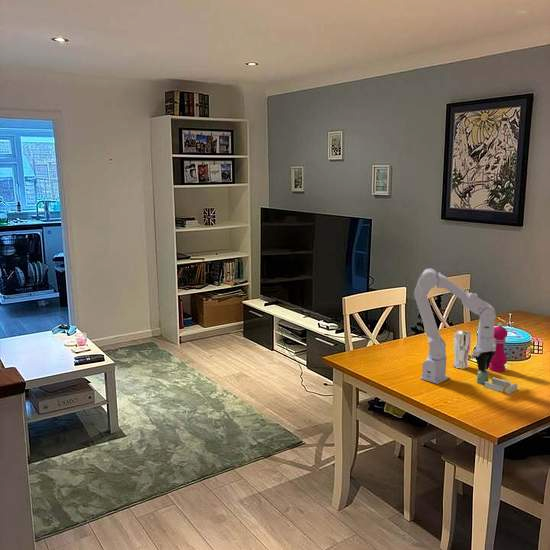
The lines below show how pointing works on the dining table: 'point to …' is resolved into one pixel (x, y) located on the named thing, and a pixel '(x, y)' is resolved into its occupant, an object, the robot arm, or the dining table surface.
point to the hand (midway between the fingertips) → (483, 369)
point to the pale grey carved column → (461, 348)
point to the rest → (503, 384)
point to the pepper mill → (499, 350)
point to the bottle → (482, 376)
